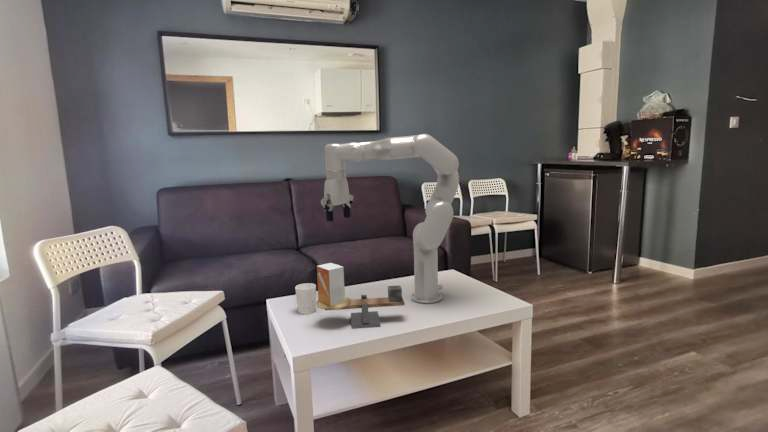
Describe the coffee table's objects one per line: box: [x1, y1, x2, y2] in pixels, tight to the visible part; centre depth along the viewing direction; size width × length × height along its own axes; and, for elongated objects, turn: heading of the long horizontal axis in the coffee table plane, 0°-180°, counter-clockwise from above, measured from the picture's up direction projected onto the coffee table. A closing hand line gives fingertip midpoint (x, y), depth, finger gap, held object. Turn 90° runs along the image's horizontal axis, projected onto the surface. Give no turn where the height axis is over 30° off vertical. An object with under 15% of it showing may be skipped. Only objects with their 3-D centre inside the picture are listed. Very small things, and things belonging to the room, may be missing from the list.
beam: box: [316, 285, 405, 311], centre depth 147 cm, size 31×12×6 cm, turn 95°
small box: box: [316, 262, 346, 306], centre depth 145 cm, size 8×6×13 cm
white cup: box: [294, 282, 317, 315], centre depth 158 cm, size 8×8×10 cm
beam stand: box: [350, 294, 382, 329], centre depth 147 cm, size 10×12×8 cm
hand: (338, 219), depth 162 cm, fingers open, 9 cm apart
